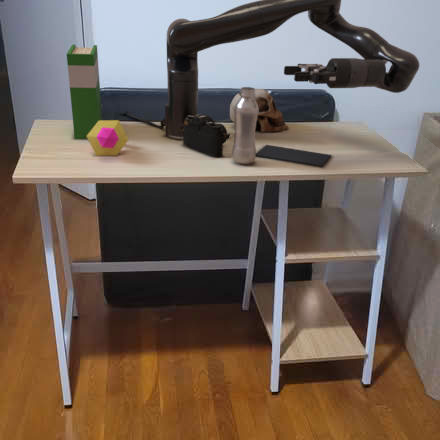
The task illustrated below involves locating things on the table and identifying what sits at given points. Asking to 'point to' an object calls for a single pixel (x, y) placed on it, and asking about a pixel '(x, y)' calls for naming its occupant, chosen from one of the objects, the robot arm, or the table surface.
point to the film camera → (204, 135)
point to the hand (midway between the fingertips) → (289, 73)
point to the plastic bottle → (245, 127)
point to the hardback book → (84, 89)
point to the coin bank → (263, 112)
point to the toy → (107, 137)
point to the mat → (293, 155)
